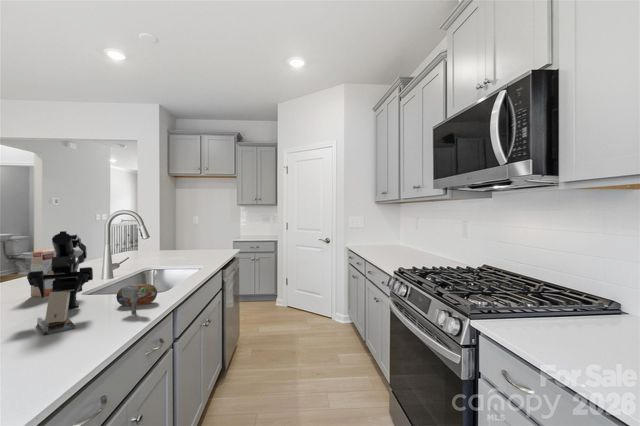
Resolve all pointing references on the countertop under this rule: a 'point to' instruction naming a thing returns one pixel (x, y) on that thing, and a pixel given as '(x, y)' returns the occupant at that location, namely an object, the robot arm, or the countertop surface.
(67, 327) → the plate
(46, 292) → the cracker box
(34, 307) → the countertop surface
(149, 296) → the tin
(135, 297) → the grey t-shaped piece
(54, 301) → the block
